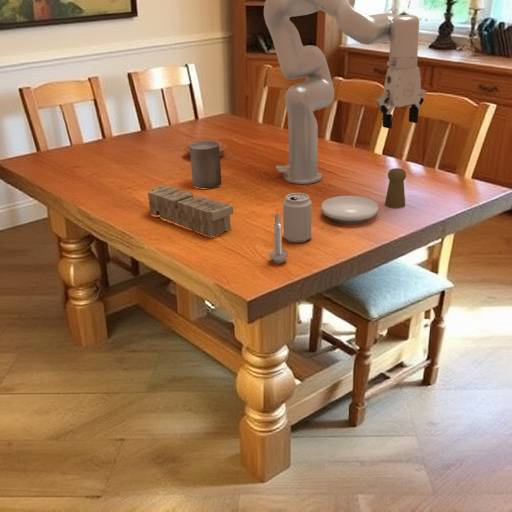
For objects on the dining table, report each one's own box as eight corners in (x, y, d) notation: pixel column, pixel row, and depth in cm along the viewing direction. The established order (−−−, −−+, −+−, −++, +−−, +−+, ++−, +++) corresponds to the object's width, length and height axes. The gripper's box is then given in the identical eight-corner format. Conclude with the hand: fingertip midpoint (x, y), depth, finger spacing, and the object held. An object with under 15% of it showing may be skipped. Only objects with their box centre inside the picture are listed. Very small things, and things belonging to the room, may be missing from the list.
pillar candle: (226, 181, 227) (224, 137, 220) (213, 191, 219) (209, 145, 212) (201, 179, 231) (198, 135, 224) (187, 188, 223) (183, 143, 216)
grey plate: (319, 226, 189) (319, 214, 188) (323, 205, 204) (324, 194, 202) (377, 228, 187) (377, 216, 185) (378, 207, 201) (378, 196, 199)
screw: (292, 260, 169) (279, 267, 166) (277, 255, 172) (264, 262, 169) (291, 212, 164) (278, 218, 161) (276, 208, 167) (263, 213, 164)
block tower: (147, 218, 202) (214, 240, 183) (144, 191, 199) (211, 211, 180) (168, 210, 207) (235, 231, 188) (165, 184, 204) (232, 202, 185)
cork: (405, 208, 199) (407, 172, 195) (384, 207, 201) (386, 172, 196) (405, 201, 205) (407, 166, 200) (385, 200, 206) (387, 165, 201)
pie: (235, 154, 257) (234, 141, 254) (210, 165, 245) (210, 151, 243) (202, 148, 264) (201, 136, 262) (177, 159, 253) (176, 146, 250)
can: (282, 233, 185) (281, 192, 180) (309, 232, 186) (309, 190, 181) (285, 244, 179) (284, 201, 174) (313, 243, 179) (313, 200, 174)
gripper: (387, 68, 179) (385, 132, 186) (436, 61, 187) (432, 122, 194) (369, 65, 185) (367, 127, 192) (417, 58, 193) (414, 118, 200)
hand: (400, 124), depth 193 cm, fingers open, 9 cm apart
